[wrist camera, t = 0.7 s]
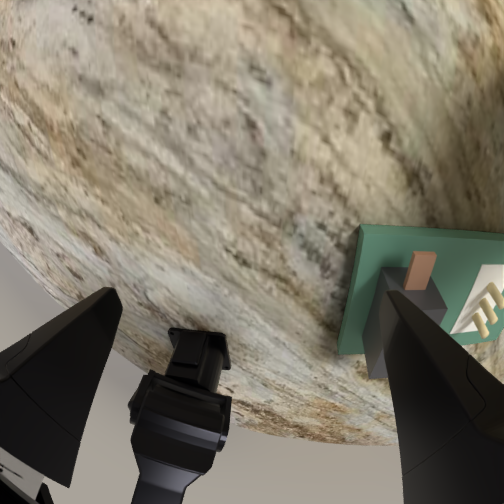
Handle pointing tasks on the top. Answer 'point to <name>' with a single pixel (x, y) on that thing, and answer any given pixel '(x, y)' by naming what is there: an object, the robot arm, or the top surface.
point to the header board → (443, 274)
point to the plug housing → (415, 289)
